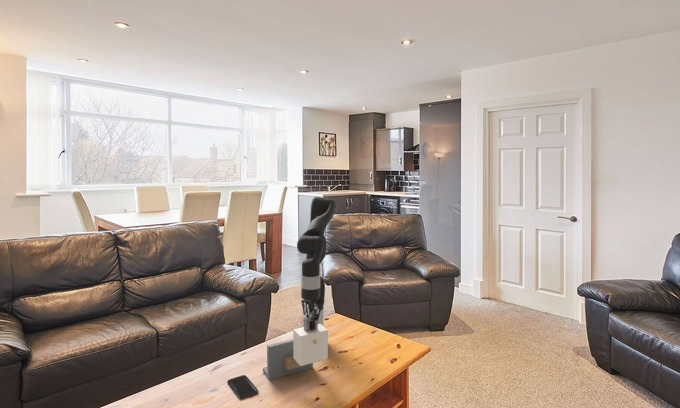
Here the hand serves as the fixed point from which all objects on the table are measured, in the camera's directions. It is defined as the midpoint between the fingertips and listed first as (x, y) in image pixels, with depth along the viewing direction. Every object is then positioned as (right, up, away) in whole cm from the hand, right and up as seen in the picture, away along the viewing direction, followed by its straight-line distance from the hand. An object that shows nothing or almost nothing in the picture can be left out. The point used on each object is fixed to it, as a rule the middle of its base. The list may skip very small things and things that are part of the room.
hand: (310, 327), depth 149 cm
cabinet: (0, -13, +1) cm, 13 cm away
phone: (-27, -24, -1) cm, 36 cm away
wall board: (-9, -22, +10) cm, 26 cm away
